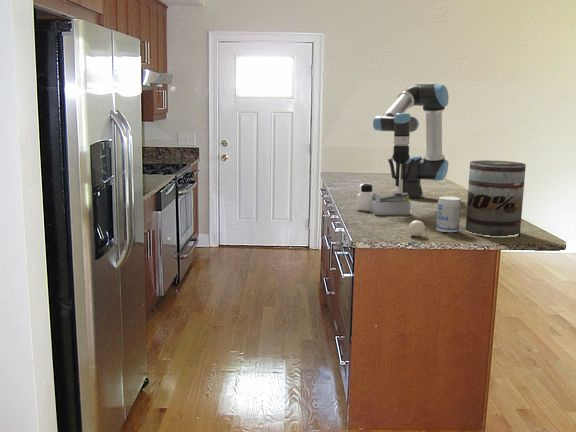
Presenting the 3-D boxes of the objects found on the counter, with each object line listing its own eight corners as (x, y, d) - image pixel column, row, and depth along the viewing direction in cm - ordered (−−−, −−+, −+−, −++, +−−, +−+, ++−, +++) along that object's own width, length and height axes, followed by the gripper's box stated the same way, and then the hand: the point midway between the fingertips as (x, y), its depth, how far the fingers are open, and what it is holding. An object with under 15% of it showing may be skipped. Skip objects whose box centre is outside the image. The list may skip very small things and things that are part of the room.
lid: (406, 194, 324) (405, 191, 323) (408, 196, 320) (408, 192, 319) (375, 199, 322) (374, 196, 322) (377, 201, 318) (376, 197, 318)
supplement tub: (432, 231, 279) (434, 197, 277) (442, 228, 286) (444, 195, 284) (452, 234, 273) (455, 200, 270) (462, 231, 280) (465, 197, 278)
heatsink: (403, 211, 328) (404, 192, 326) (409, 214, 318) (410, 195, 317) (369, 211, 326) (369, 192, 324) (374, 214, 316) (375, 195, 314)
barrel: (455, 231, 280) (459, 162, 274) (482, 225, 295) (487, 159, 289) (503, 240, 264) (509, 167, 258) (529, 233, 279) (535, 163, 273)
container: (373, 208, 334) (374, 183, 331) (371, 211, 326) (372, 185, 324) (359, 207, 336) (359, 182, 333) (355, 210, 329) (356, 184, 326)
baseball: (406, 237, 267) (407, 221, 266) (409, 234, 273) (410, 218, 272) (422, 239, 264) (423, 222, 263) (425, 235, 271) (426, 219, 270)
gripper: (390, 145, 312) (388, 194, 316) (417, 145, 314) (415, 193, 318) (385, 144, 319) (384, 192, 323) (412, 144, 321) (410, 191, 325)
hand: (399, 192), depth 320 cm, fingers closed
